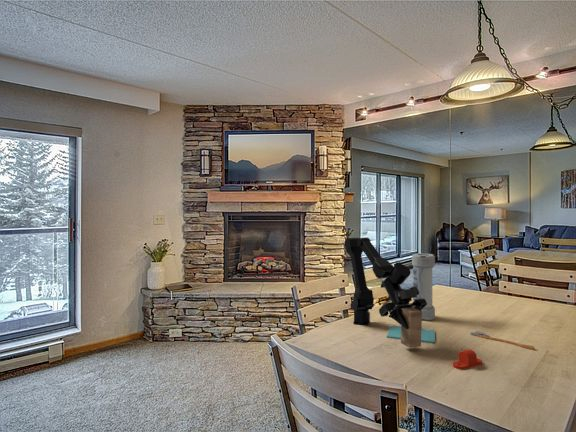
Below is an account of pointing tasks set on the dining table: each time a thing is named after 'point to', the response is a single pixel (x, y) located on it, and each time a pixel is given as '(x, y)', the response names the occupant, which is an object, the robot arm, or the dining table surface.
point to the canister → (424, 282)
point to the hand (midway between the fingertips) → (413, 327)
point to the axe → (486, 336)
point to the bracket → (467, 360)
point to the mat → (425, 334)
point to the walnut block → (412, 327)
